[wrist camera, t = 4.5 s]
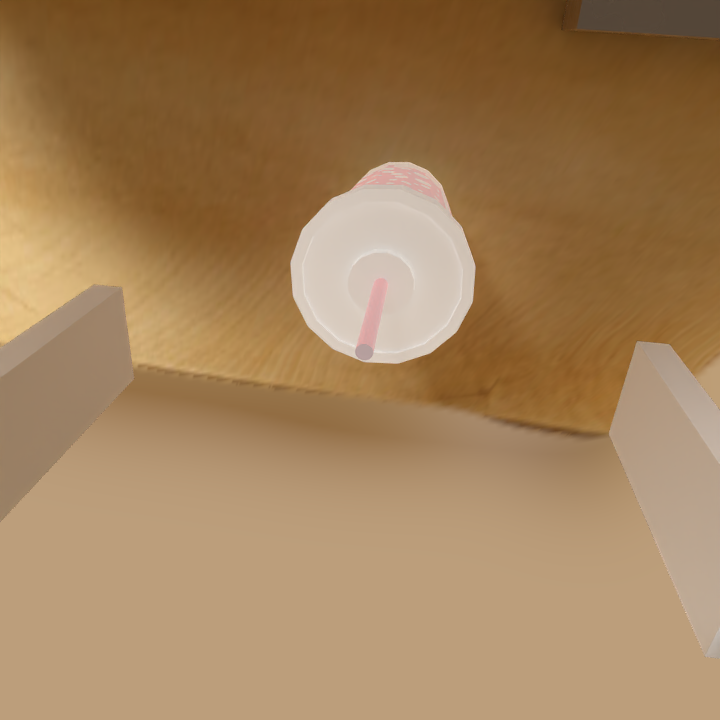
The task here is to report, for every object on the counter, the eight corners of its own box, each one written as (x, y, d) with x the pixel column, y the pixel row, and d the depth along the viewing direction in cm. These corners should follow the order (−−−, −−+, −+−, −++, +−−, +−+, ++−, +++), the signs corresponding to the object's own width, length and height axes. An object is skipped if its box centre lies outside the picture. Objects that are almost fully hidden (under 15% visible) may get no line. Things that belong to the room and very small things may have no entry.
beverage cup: (306, 193, 28) (199, 316, 15) (419, 113, 25) (400, 181, 13) (379, 298, 30) (336, 481, 17) (490, 232, 27) (530, 388, 15)
